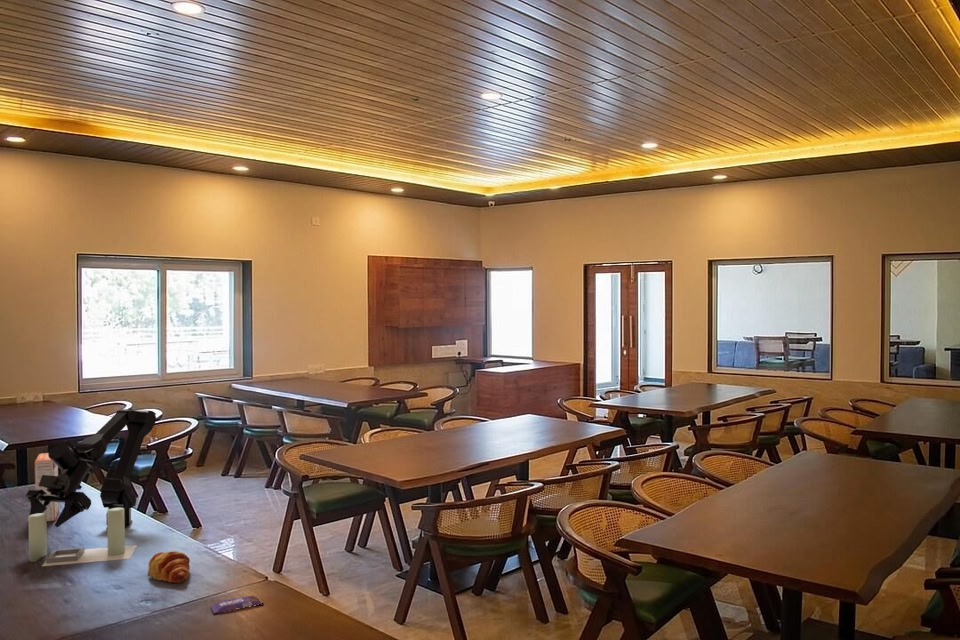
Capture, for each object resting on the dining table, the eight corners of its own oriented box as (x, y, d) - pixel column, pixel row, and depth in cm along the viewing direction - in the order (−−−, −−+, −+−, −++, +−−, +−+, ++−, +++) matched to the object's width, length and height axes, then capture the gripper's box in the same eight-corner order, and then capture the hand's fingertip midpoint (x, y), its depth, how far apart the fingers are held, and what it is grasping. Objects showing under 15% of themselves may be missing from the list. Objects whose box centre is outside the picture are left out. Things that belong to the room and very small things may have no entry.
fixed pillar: (126, 549, 214) (125, 507, 214) (123, 554, 210) (122, 511, 210) (109, 551, 213) (108, 508, 213) (106, 556, 209) (105, 512, 208)
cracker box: (39, 513, 256) (38, 453, 256) (59, 510, 259) (58, 451, 259) (34, 523, 244) (33, 460, 243) (55, 521, 246) (54, 459, 246)
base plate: (137, 548, 218) (137, 541, 218) (129, 561, 207) (129, 554, 207) (54, 555, 212) (53, 547, 212) (41, 569, 201) (41, 561, 201)
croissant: (145, 579, 203) (130, 557, 200) (178, 555, 209) (164, 533, 206) (173, 600, 187) (157, 576, 185) (207, 573, 193) (192, 549, 191)
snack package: (213, 609, 171) (210, 601, 175) (213, 617, 171) (210, 609, 175) (264, 599, 176) (259, 592, 181) (264, 607, 176) (259, 600, 181)
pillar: (49, 555, 212) (48, 512, 212) (44, 560, 208) (43, 516, 208) (31, 557, 211) (31, 513, 211) (26, 562, 207) (26, 518, 206)
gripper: (30, 461, 218) (-2, 508, 207) (83, 464, 214) (54, 512, 203) (51, 482, 226) (21, 528, 215) (103, 485, 221) (76, 532, 211)
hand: (42, 525), depth 211 cm, fingers open, 9 cm apart
